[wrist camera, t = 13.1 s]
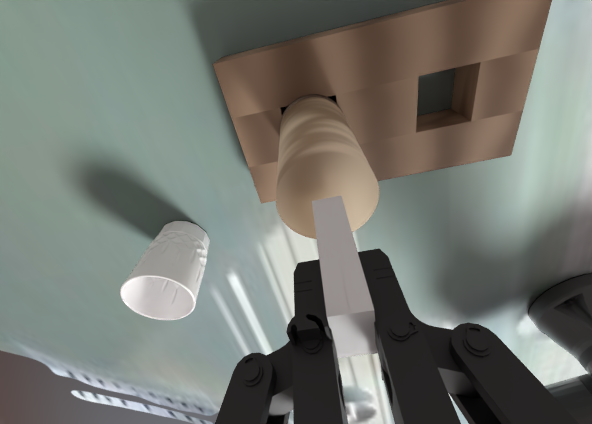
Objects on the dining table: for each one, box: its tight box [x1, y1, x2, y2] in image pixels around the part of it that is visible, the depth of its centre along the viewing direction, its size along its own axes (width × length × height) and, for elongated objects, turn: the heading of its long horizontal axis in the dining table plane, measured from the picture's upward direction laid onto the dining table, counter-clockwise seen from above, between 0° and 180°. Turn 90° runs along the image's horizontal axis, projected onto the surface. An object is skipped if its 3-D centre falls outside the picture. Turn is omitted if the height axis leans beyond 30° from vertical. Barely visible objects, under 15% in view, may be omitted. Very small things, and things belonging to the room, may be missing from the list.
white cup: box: [120, 221, 210, 320], centre depth 35 cm, size 8×8×10 cm
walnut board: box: [213, 0, 552, 203], centre depth 27 cm, size 26×14×4 cm, turn 102°
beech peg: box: [276, 94, 379, 239], centre depth 23 cm, size 6×6×16 cm
